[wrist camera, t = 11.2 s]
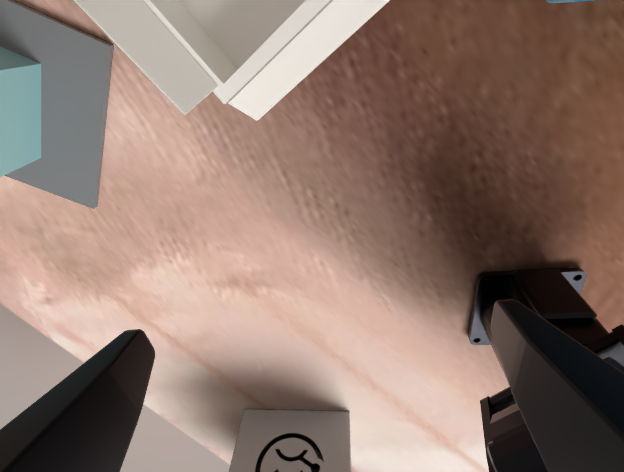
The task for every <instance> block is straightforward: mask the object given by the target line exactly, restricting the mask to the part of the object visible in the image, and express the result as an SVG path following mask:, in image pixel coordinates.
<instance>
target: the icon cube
mask: <svg viewBox="0 0 624 472" xmlns="http://www.w3.org/2000/svg"><path fill="white" fill-rule="evenodd" d="M229 472H351V446H350V418H349V411H303V410H254V409H244V412H243V416H242V420H241V424H240V428H239V432H238V437H237V441H236V445H235V449H234V453H233V457H232V461H231V465H230V469H229Z"/></svg>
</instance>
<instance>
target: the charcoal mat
mask: <svg viewBox="0 0 624 472" xmlns="http://www.w3.org/2000/svg"><path fill="white" fill-rule="evenodd" d="M0 46H1V47H3V48H5V49H8V50H10V51H12V52H15V53H17V54H19V55H22V56H24V57H26V58H29V59H31V60H33V61H36V62H38V63H40V64H41V158H40V159H38V160H36V161H34V162H32V163H29V164H27V165H25V166H23V167H21V168H19V169H17V170H15V171H12V172H10V173H8V174H6V175H5V176H7V177H10V178H13V179H15V180H18V181H21V182H23V183H26V184H29V185H31V186H34V187H37V188H39V189H42V190H45V191H47V192H50V193H53V194H55V195H58V196H61V197H63V198H66V199H69V200H71V201H74V202H77V203H79V204H82V205H85V206H87V207H90V208H93V209H94V208H95V207H97V204H98V194H99V184H100V174H101V164H102V154H103V145H104V135H105V125H106V115H107V105H108V95H109V86H110V76H111V66H112V56H113V46H114V45H112V44H110V43H107V42H105V41H103V40H101V39H99V38H96V37H94V36H92V35H90V34H87V33H85V32H83V31H81V30H78V29H76V28H74V27H72V26H70V25H67V24H65V23H63V22H61V21H58V20H56V19H54V18H52V17H49V16H47V15H45V14H43V13H40V12H38V11H36V10H34V9H32V8H29V7H27V6H25V5H23V4H20V3H18V2H16V1H14V0H0Z"/></svg>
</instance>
